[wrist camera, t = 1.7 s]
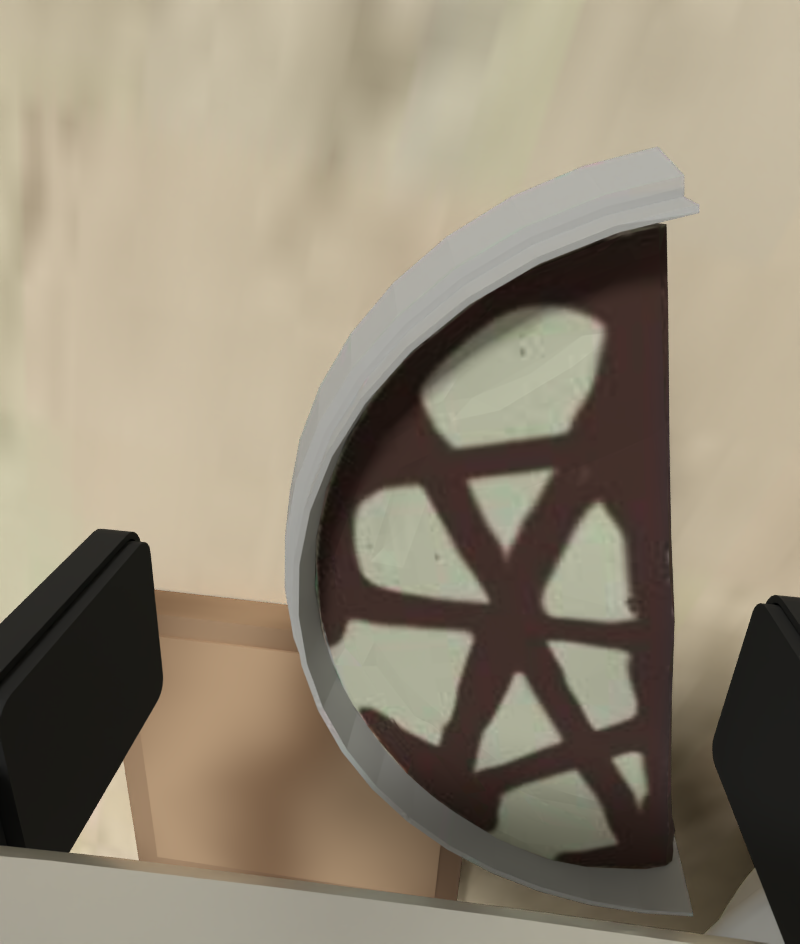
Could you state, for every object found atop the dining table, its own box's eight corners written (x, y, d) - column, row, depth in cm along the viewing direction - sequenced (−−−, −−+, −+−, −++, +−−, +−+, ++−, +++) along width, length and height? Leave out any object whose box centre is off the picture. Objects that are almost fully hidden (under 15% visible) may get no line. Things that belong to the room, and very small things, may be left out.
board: (489, 628, 22) (489, 655, 21) (456, 882, 27) (454, 915, 26) (118, 585, 23) (98, 608, 22) (153, 838, 28) (139, 868, 27)
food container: (323, 188, 17) (137, 240, 8) (585, 143, 16) (700, 148, 7) (403, 609, 22) (342, 931, 13) (607, 596, 21) (693, 936, 12)
